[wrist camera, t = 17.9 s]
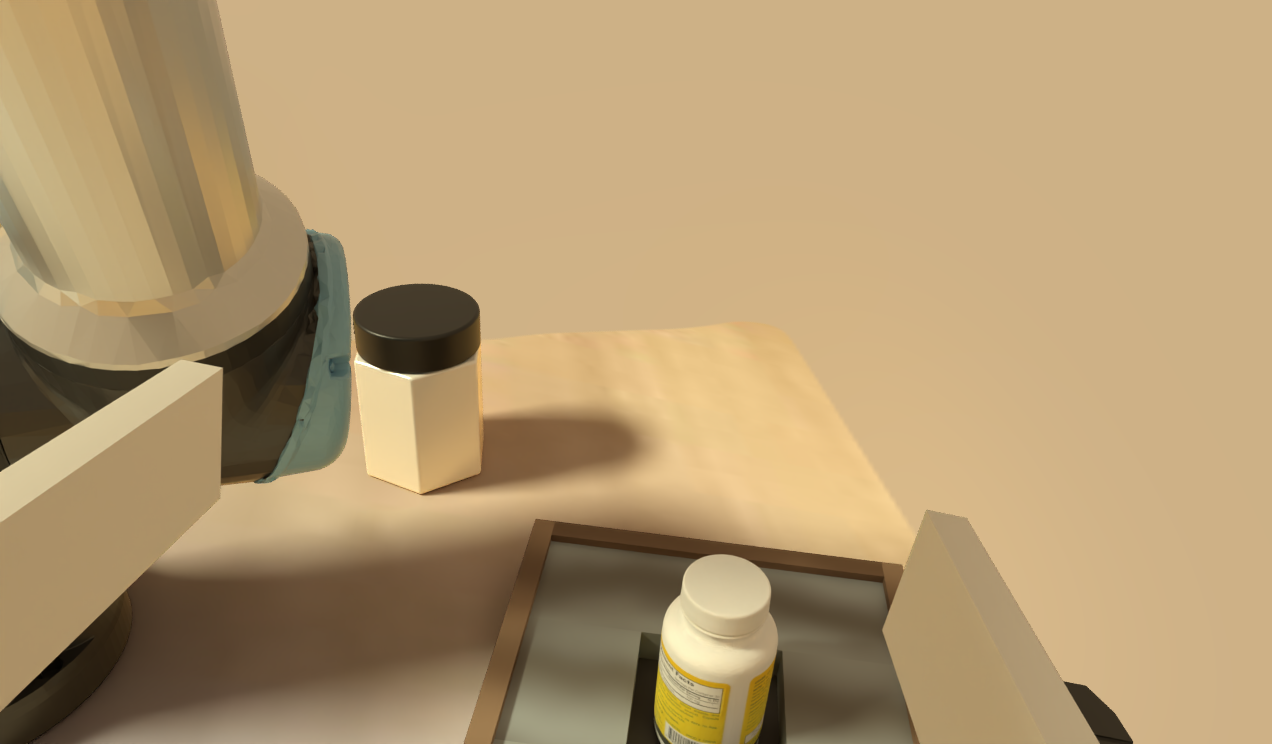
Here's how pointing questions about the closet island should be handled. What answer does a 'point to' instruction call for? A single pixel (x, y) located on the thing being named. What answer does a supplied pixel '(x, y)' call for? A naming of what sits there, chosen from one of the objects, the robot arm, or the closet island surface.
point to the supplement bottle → (716, 655)
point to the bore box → (631, 635)
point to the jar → (420, 385)
